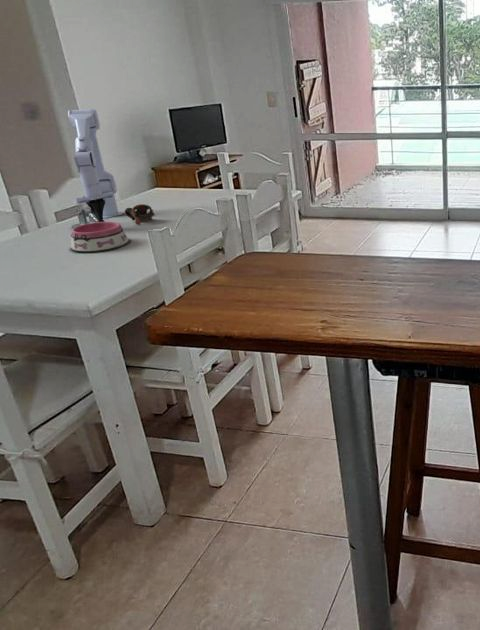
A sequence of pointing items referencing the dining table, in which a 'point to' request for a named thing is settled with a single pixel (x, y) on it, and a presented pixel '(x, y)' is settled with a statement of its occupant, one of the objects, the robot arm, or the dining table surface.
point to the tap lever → (88, 213)
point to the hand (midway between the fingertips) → (99, 219)
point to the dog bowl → (98, 237)
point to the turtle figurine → (139, 213)
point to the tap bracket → (83, 217)
